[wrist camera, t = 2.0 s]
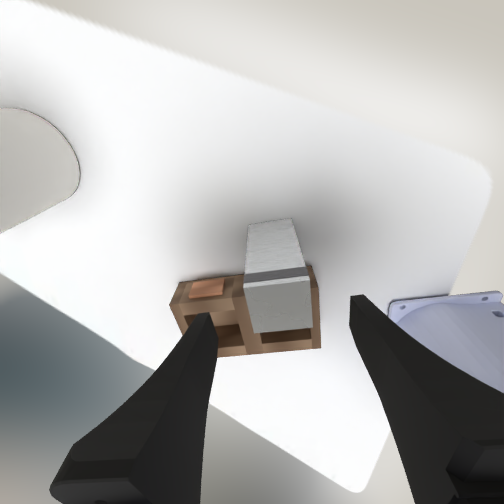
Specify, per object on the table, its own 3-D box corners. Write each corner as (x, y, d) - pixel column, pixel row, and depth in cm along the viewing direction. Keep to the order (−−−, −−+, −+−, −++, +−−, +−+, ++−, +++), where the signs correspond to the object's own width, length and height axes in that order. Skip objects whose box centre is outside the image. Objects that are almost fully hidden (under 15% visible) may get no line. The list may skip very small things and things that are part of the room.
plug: (291, 217, 19) (310, 279, 12) (295, 255, 21) (313, 327, 14) (248, 224, 20) (242, 287, 13) (255, 260, 21) (253, 333, 14)
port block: (311, 263, 21) (318, 284, 19) (314, 323, 25) (321, 348, 22) (178, 279, 23) (168, 302, 20) (199, 334, 26) (193, 359, 24)
